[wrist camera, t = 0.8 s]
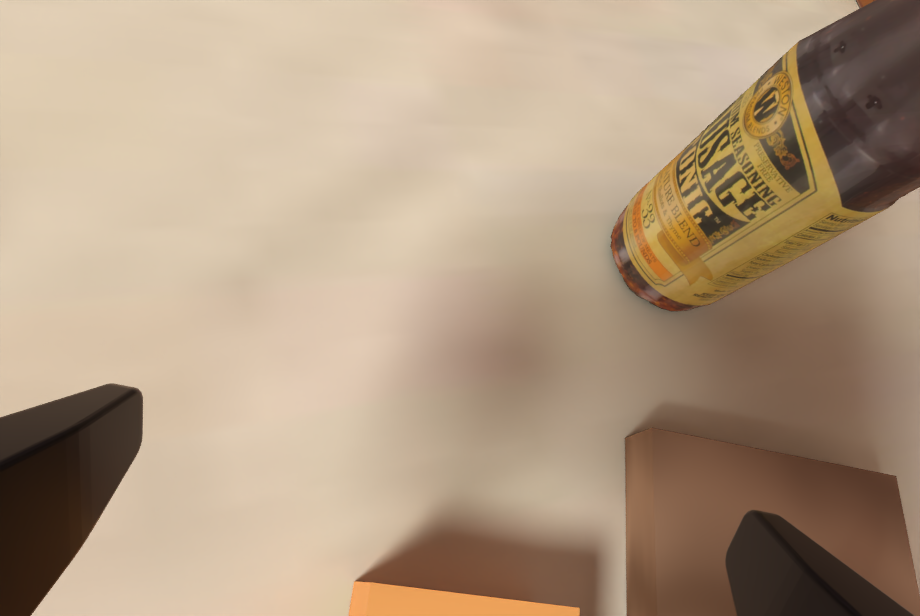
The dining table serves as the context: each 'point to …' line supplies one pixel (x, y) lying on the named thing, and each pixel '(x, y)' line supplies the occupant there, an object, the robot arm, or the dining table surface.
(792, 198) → the sauce bottle
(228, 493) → the dining table surface
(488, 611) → the orange square ring
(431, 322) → the dining table surface
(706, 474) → the brown peg board
